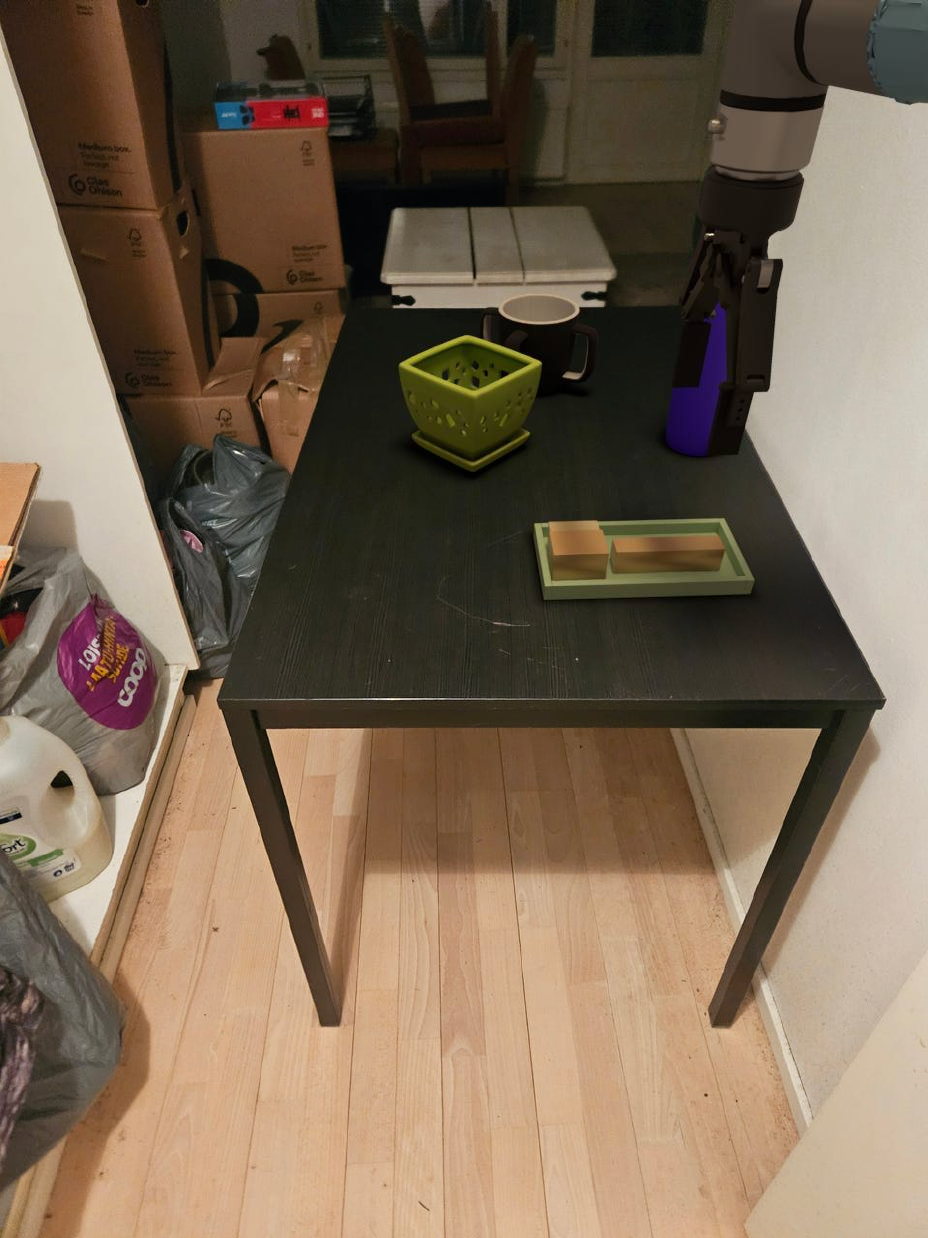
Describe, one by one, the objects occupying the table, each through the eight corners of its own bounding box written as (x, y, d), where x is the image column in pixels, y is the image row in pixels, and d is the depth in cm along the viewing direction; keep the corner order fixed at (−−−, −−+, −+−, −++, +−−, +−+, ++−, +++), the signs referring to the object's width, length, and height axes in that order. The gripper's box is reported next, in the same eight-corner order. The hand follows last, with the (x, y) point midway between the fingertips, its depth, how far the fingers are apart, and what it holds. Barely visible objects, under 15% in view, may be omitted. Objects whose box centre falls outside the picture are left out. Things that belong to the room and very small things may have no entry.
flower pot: (473, 486, 100) (473, 395, 91) (400, 450, 107) (393, 363, 98) (541, 446, 107) (546, 358, 99) (468, 415, 114) (467, 330, 106)
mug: (597, 402, 117) (606, 324, 109) (494, 411, 115) (496, 332, 107) (570, 358, 129) (576, 284, 121) (476, 365, 127) (476, 291, 119)
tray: (720, 531, 92) (724, 517, 90) (750, 594, 83) (755, 580, 82) (533, 536, 91) (534, 523, 90) (543, 600, 83) (544, 586, 81)
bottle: (698, 423, 112) (747, 194, 91) (736, 449, 106) (797, 212, 86) (651, 435, 109) (690, 203, 89) (687, 463, 103) (738, 221, 83)
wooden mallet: (706, 540, 90) (712, 514, 87) (722, 575, 85) (729, 549, 82) (545, 544, 89) (546, 519, 87) (551, 580, 84) (553, 554, 82)
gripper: (671, 136, 69) (637, 363, 83) (758, 213, 50) (696, 488, 65) (753, 134, 69) (706, 361, 83) (871, 211, 51) (784, 486, 65)
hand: (702, 417), depth 74 cm, fingers open, 13 cm apart
